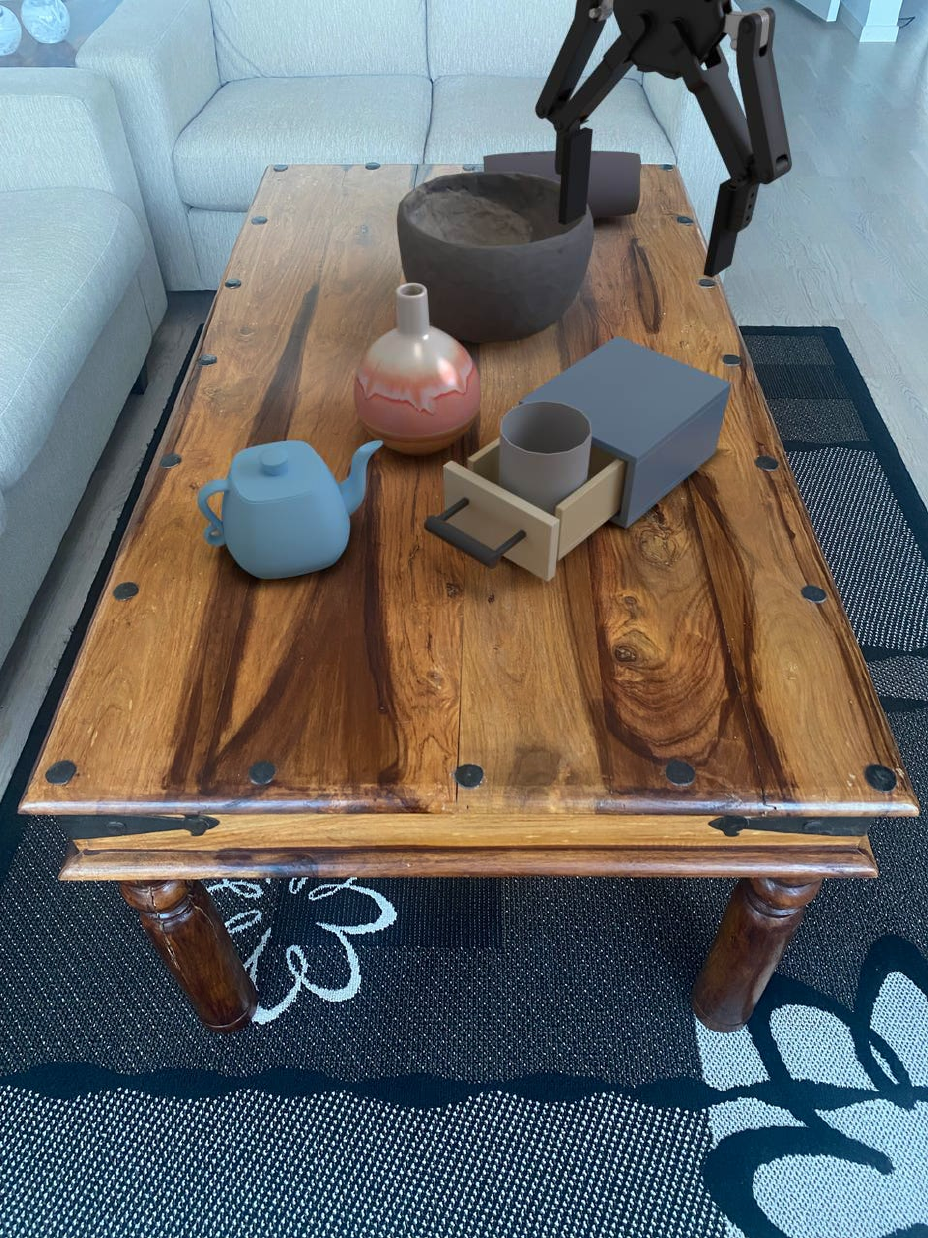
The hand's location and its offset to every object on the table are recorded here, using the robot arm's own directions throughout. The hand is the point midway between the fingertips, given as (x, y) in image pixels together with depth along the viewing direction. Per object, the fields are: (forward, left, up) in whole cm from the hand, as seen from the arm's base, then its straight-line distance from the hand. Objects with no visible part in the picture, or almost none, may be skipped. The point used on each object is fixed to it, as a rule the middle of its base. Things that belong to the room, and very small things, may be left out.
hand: (641, 243), depth 72 cm
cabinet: (+5, -9, -29) cm, 30 cm away
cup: (+4, +5, -27) cm, 28 cm away
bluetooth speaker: (+47, -52, -29) cm, 76 cm away
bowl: (+35, -23, -29) cm, 51 cm away
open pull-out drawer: (+5, +6, -28) cm, 29 cm away
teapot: (+21, +22, -29) cm, 42 cm away
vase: (+24, +2, -29) cm, 38 cm away
